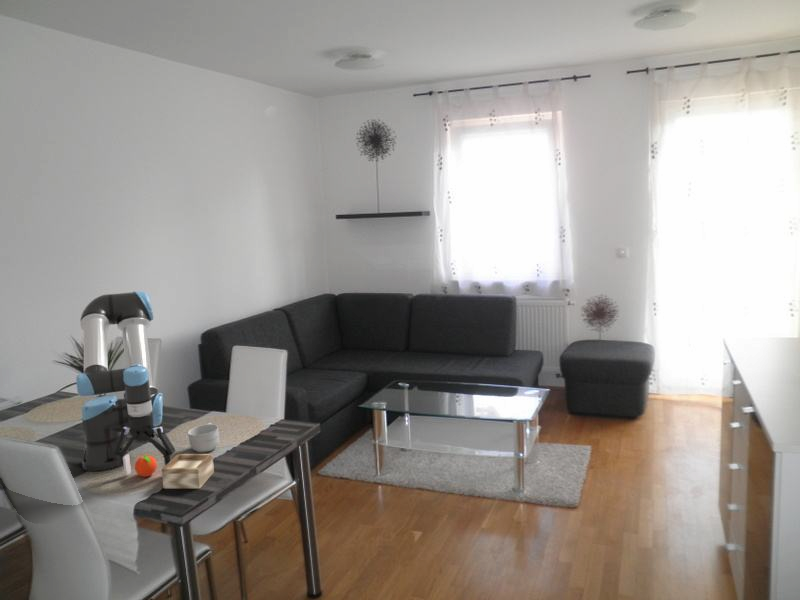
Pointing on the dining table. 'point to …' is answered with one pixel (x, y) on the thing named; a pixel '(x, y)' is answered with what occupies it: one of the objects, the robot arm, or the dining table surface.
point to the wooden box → (188, 471)
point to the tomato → (145, 466)
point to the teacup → (204, 437)
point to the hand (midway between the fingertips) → (147, 473)
